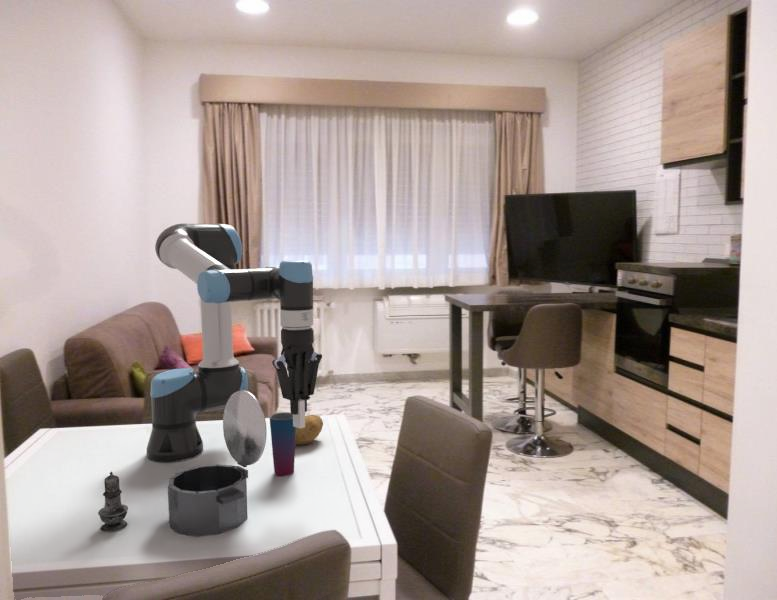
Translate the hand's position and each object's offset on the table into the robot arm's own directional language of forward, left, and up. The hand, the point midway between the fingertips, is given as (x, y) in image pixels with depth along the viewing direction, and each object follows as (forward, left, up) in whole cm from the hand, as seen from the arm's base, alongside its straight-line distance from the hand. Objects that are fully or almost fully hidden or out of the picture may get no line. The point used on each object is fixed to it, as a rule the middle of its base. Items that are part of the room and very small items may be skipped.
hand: (299, 426), depth 145 cm
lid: (-4, -13, +2) cm, 13 cm away
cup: (-14, +5, -17) cm, 22 cm away
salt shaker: (-15, -38, -17) cm, 44 cm away
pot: (-4, -22, -16) cm, 27 cm away
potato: (-29, +23, -17) cm, 41 cm away
